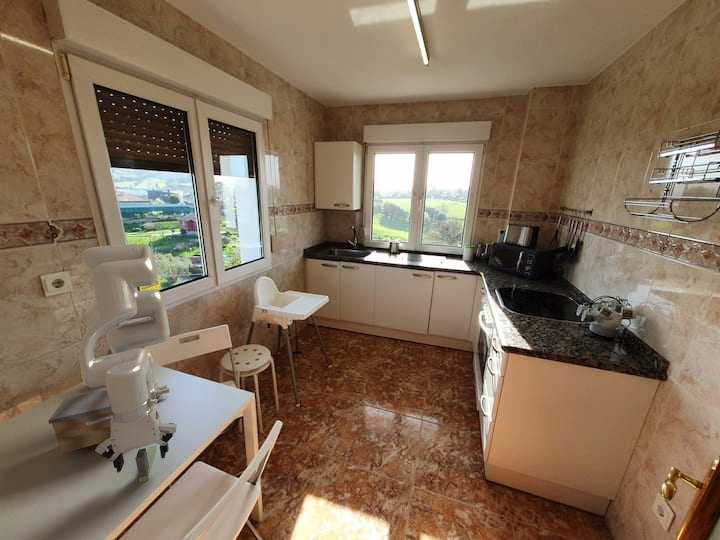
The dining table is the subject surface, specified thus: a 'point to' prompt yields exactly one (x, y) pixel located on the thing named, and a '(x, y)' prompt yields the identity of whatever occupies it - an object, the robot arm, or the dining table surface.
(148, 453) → the scraper tool
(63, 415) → the walnut cabinet
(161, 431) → the grey rounded piece
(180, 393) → the dining table surface
